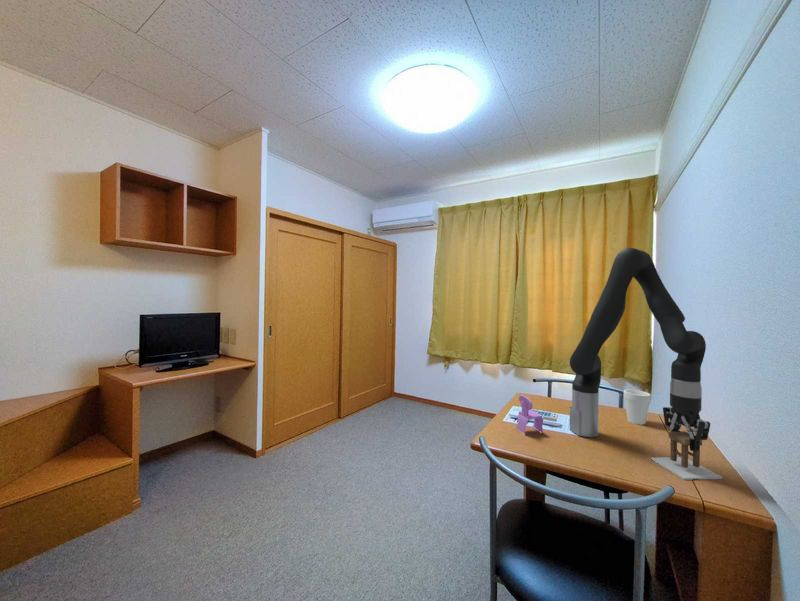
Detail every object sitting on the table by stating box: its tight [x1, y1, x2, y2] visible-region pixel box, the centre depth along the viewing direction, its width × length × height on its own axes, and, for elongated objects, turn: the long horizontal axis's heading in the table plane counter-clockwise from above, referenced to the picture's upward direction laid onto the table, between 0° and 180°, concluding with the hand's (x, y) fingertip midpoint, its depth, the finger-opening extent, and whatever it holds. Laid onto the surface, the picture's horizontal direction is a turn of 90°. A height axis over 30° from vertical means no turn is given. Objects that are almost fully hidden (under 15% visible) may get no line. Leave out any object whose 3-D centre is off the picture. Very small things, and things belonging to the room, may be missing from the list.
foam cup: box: [623, 388, 652, 426], centre depth 139 cm, size 10×9×13 cm
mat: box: [650, 456, 723, 481], centre depth 101 cm, size 12×12×1 cm
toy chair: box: [515, 394, 544, 435], centre depth 129 cm, size 8×9×15 cm
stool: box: [668, 430, 703, 467], centre depth 101 cm, size 6×6×9 cm
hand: (684, 446), depth 101 cm, fingers closed on stool, 5 cm apart
